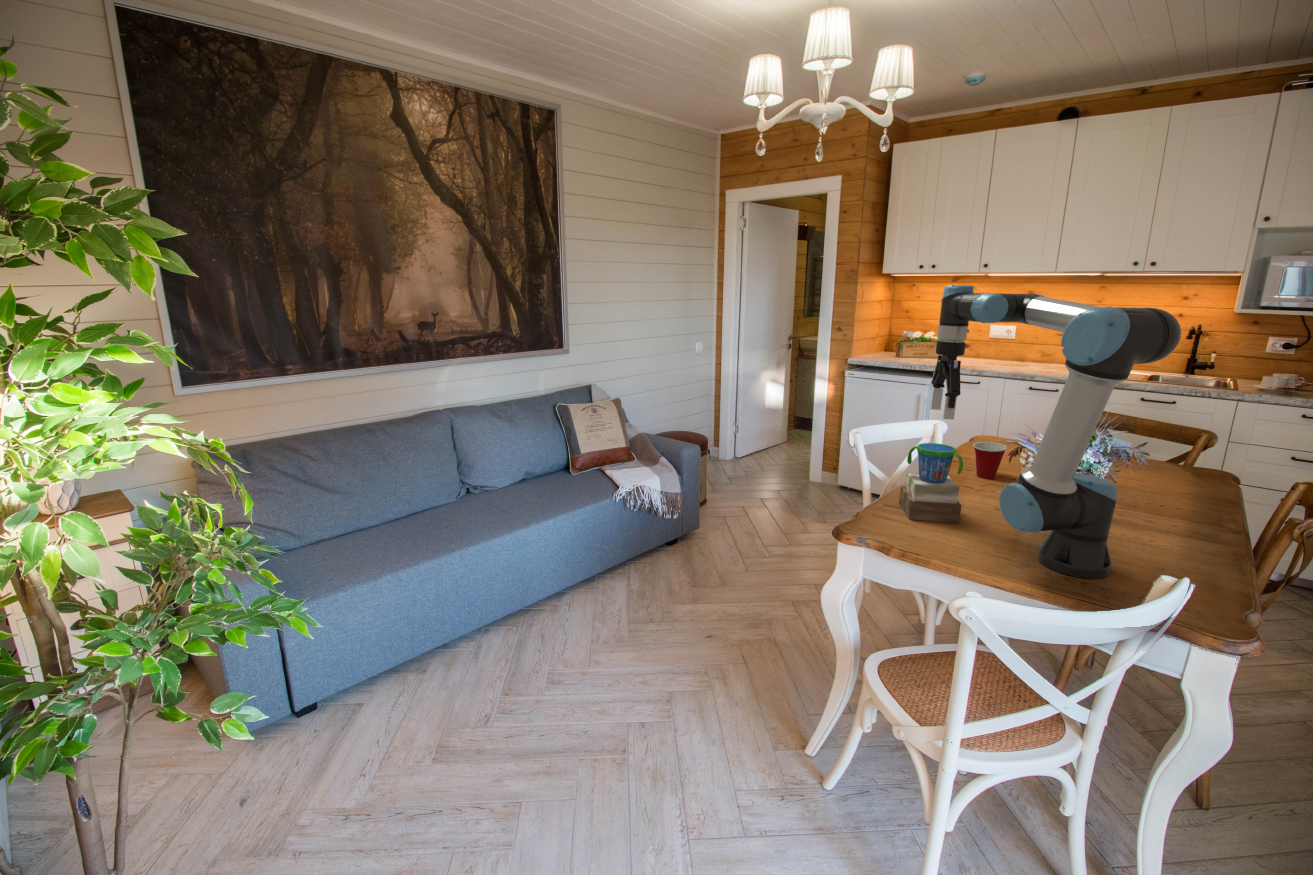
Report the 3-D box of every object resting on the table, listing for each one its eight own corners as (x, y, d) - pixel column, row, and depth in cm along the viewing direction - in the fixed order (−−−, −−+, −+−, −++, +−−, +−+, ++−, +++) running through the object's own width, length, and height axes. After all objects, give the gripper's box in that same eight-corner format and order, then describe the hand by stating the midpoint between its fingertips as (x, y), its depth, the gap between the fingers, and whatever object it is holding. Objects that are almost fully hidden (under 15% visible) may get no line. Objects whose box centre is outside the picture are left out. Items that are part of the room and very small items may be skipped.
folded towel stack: (959, 522, 182) (964, 488, 179) (908, 519, 184) (913, 485, 181) (945, 506, 195) (950, 474, 192) (898, 502, 197) (902, 471, 195)
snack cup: (898, 476, 189) (902, 444, 187) (916, 470, 196) (920, 439, 193) (949, 490, 178) (954, 455, 175) (966, 483, 184) (971, 450, 182)
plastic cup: (961, 473, 229) (966, 442, 226) (985, 471, 232) (990, 440, 229) (985, 482, 219) (990, 449, 216) (1009, 480, 222) (1014, 447, 219)
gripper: (980, 345, 164) (968, 424, 169) (952, 337, 188) (943, 406, 193) (950, 344, 165) (939, 422, 170) (926, 336, 189) (917, 405, 194)
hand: (941, 414), depth 182 cm, fingers open, 13 cm apart
